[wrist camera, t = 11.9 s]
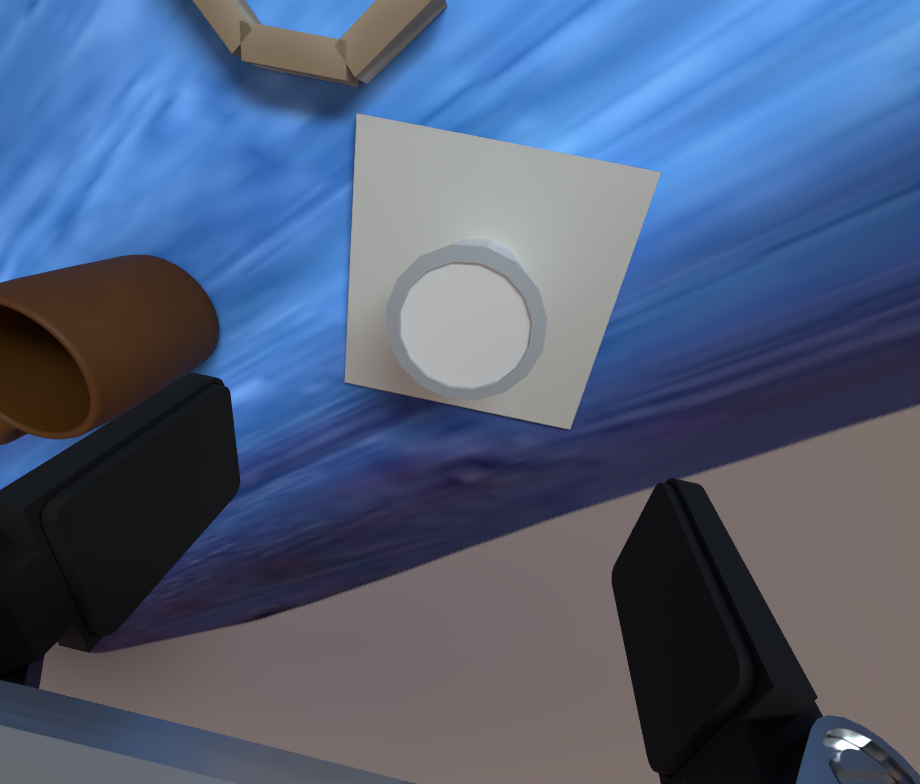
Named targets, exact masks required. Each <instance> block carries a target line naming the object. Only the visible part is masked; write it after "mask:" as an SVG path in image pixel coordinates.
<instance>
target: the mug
mask: <svg viewBox="0 0 920 784" xmlns="http://www.w3.org/2000/svg"><path fill="white" fill-rule="evenodd" d="M218 330H219V327H218V319H217V315H216V312H215V309H214V306H213V304H212V302H211V300H210V298H209V297H208V295H207V294H206V292H205V291H204V289H203V288H202V287H201V286H200V284H199V283H198V282H197V281H196V280H195V279H194V278H193V277H192V276H191V275H189V274H188V273H187V272H186V271H184V270H183V269H181V268H180V267H178V266H176V265H175V264H173V263H171V262H168V261H166V260H164V259H161V258H158V257H154V256H150V255H127V256H120V257H115V258H111V259H106V260H102V261H97V262H92V263H87V264H82V265H77V266H72V267H67V268H63V269H58V270H54V271H49V272H45V273H40V274H36V275H31V276H26V277H22V278H17V279H13V280H9V281H5V282H2V283H0V445H3V444H7V443H9V442H12V441H14V440H16V439H18V438H20V437H22V436H24V435H26V434H32V435H35V436H38V437H43V438H48V439H68V438H75V437H78V436H81V435H83V434H85V433H87V432H89V431H91V430H93V429H94V428H96V427H98V426H101V425H103V424H105V423H107V422H109V421H111V420H113V419H114V418H116V417H118V416H120V415H121V414H123V413H125V412H126V411H128V410H130V409H131V408H133V407H135V406H136V405H138V404H139V403H141V402H143V401H144V400H146V399H147V398H149V397H151V396H152V395H154V394H155V393H157V392H159V391H160V390H162V389H164V388H165V387H167V386H168V385H170V384H171V383H173V382H174V381H176V380H177V379H179V378H180V377H182V376H184V375H185V374H187V373H188V372H190V371H192V370H193V369H195V368H196V367H198V366H199V365H200V364H202V363H203V362H204V361H205V360H207V358H208V357H209V356H210V355H211V354H212V352H213V350H214V349H215V346H216V344H217V339H218Z"/></svg>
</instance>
